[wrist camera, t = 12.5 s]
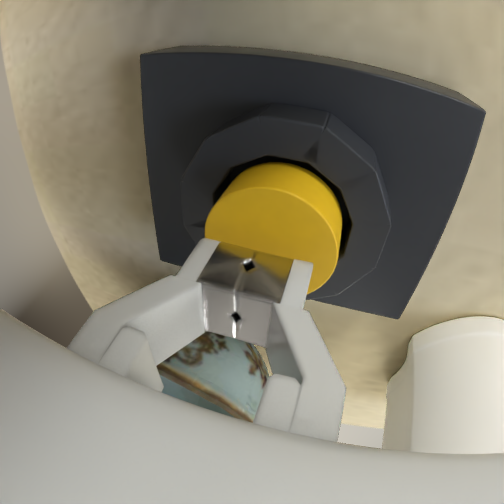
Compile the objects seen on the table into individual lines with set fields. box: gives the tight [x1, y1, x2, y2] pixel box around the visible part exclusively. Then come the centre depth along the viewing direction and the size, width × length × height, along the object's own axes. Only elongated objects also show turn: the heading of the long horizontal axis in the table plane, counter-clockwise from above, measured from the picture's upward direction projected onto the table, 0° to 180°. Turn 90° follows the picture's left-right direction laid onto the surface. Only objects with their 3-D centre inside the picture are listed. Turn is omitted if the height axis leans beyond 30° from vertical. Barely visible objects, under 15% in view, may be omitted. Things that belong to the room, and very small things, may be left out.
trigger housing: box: [140, 46, 486, 319], centre depth 12 cm, size 12×10×5 cm
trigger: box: [205, 162, 342, 294], centre depth 10 cm, size 4×4×2 cm
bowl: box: [156, 331, 269, 423], centre depth 21 cm, size 14×13×8 cm
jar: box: [382, 316, 504, 454], centre depth 14 cm, size 12×10×15 cm
